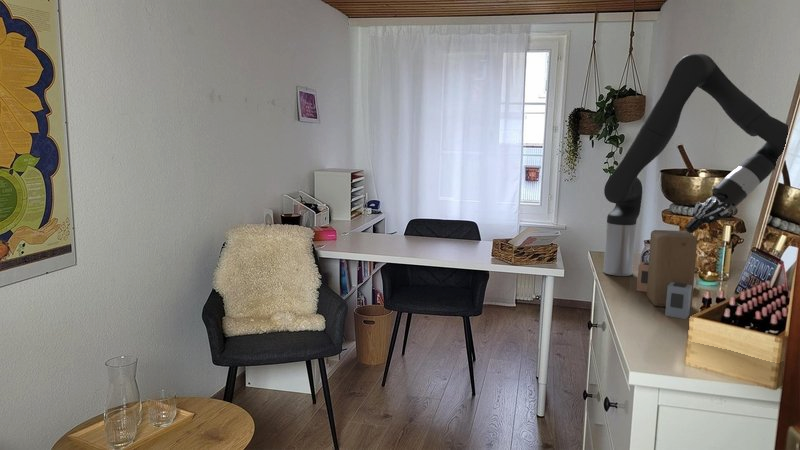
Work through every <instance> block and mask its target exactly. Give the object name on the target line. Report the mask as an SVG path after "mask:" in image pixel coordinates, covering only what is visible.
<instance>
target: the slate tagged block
mask: <svg viewBox="0 0 800 450" xmlns="http://www.w3.org/2000/svg"><path fill="white" fill-rule="evenodd" d="M691 292H692V285H688V284H682V283H676V282H671V283H670V284H669V285H668V288H667V299H666V307H665V312H664V313H665V314H664V316H667V317H671V318H676V319H683V320H686V319H688V318H689V316H690V311H691V307H690V302H691Z"/></svg>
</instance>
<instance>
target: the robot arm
mask: <svg viewBox="0 0 800 450" xmlns="http://www.w3.org/2000/svg"><path fill="white" fill-rule="evenodd" d="M697 88H699V89H701V90H702V91H703V92H705V93H707V94H708V95H709V96H711V98H713V99H714V100H715V101H716V102H717V103H718V104H719V106H720V107H721V109H722V110H723V111H724V113H725V114H726V116H728V118H730V119H731V121H733V123H734V124H736V125H737V126H738V127H739V128H740V129H741V130H742V131H744V132H745V133H746V134H747V135H749V136H750V137H759V138H760V139H762V140H764V142H765V143H764V144H763V145H762V146H760V148H759V149H758V150H757V151H756V152H754V153H753V154H751V155H749V156H748V157H747V158H746V159H745V160H744V161H743V162H741V164H739V165H738V166H737V167H736V168H734V169H733V170H731V171H730V173H728V174H727V175H726V176H725V177H723V178H722V180H721V181H720V182H718V183H717V184H716V185H715V186H714V187H713V188H712V189H711V191H712V196H710V197H708V198H707V199H706V200H705V201H704V202H701V201H697V202H696V203H695V206H694V208H693V211H692V212H691V216H692V217H693V218H692V220H691V221H690V222H688V223H687V224H686V225H685V226H684V229H685V231H687V232H689V233H690V234H694V232H696V231H697V230H698V229H699V228H700V227H702V226H705V225H706V224H707V225H710V224H713V223H716V221H720V220H722V219H724V218H726V217H729V215H730V212H729V211H728V210H729V208H731V209H735V208H736V207H737V206H739V205H740V204H741V203H742V202H743V201H744V200H745V199H746V198H747V197H748V196H750V194H752V193H753V192H754V191H755V189H757V187H758V186H759V185H760V184H761V183H762V182H763V181H765V180H766V179H767V178H768V177H769V176H770V175H771V173H772V172H773V171H774V170H776V169H775V166H776V161H777V159H778V157H779V156H780V155H781V154H782V152H783V150H784V147H785V144H786V138H787V135H788V124H786V123H785V122H783V121H781V120H780V119H777V118H775V117H773V116H771V115H770V114H769V113H768V112H766V110H764V109H763V108H762V107H761V106H760V105H759V104H757V103H756V102H755V101H754V100H753V99H751V98H750V97H749V96H748V95H747V94H745V92H743V91H741V89H740V88H739V87H737V86H736V85H735V84H734V83H733V82H732V81H731V80H730V79H729V77H728V76H727V75H726V74H725V73H724V72H723V71H722V69H721V68H720V67H719V66H718V64H717V63H716V62H715V61H714V59H713V58H712V57H711V56H709V55H708V54H704V53H691V54H690V53H689V54H687V55H684V56H683V57H682V58H680V59H679V60H678V61H677V63H676V64H675V66H674V68H673V70H672V72H671V74H670V77H669V78H668V81H667V83H666V85H665V87H664V89H663V92H662V93H661V95H660V97H659V99H658V100H657V101H656V103H655V105H654V106H653V108H652V109H651V111H650V113H649V115H648V116H647V117H646V119H645V121H644V123H643V124H642V126H641V127H640V129H639V131H638V132H637V135H636V137H635V138H634V140H633V141H632V143H631V145H630V146H629V148H628V150H627V151H626V154H625V155H624V156H623V158H622V159H621V161H620V163H619V164H618V165H617V167H616V168H615V169H614V171H613V172H612V173H611V175H609V178H608V179H607V181H606V183H605V185H604V188H603V189H604V191H603V193H604V197H605V199H606V201H608V202H609V203H612V204H615V206H614V207H613V209H612V210H611V211H610V212H608V214H607V217H606V228H605V242H604V243H605V244H604V245H605V246H604V255H603V256H604V259H603V267H602V268H603V269H602V270H603V271H602V272H603V273H604V274H606V275H609V276H610V275H611V276H617V277H629V276H632V275H633V268H634V267H633V266H634V254H635V244H636V234H637V233H636V231H637V220H638V218H639V216H640V213H641V208H642V207H641V206H642V200H643V185H642V182H641V180H640V178H639V177H638V176H639V175H640V173H641V172H642V170H643V169H644V168H645V167H647V166H648V165H649V164H650V163H651V162H652V161H654V160H655V159H656V158H658V156H659V155H660V154H661V153H662V152H663V151H664V149H665V148H666V147H667V146H668V144H669V142H670V140H671V139H672V138H673V136H674V134H675V132H676V130H677V129H678V125H679V122H680V118H681V114H682V111H683V110H684V107H685V105H686V103H687V101H688V100H689V98H690V97H691V96H692V94H693V93H694V92H695V90H696V89H697Z"/></svg>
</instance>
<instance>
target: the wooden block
mask: <svg viewBox="0 0 800 450" xmlns="http://www.w3.org/2000/svg"><path fill="white" fill-rule="evenodd" d="M649 239H650V241H649V254H648V255H649V257H648V262H649V268H648V283H647V292H646V297H647V298H648V300H649V301H650V302H651V304H652V305H653V306H655V307H662V308H666V299H667V288H668V285H669V284H670V283H671V282H676V283H682V284H688V285H692V292H691V302H690V308H692V306H693V299H694V297H693V295H694V290H693V287H694V276H695V271H696V263H697V262H696V260H697V246H698V238H697V237H696V236H695V235H693V233H689V232H688V231H687V230H663V229H654V230H652V231H651V233H650V238H649ZM694 288H695V287H694Z"/></svg>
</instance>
